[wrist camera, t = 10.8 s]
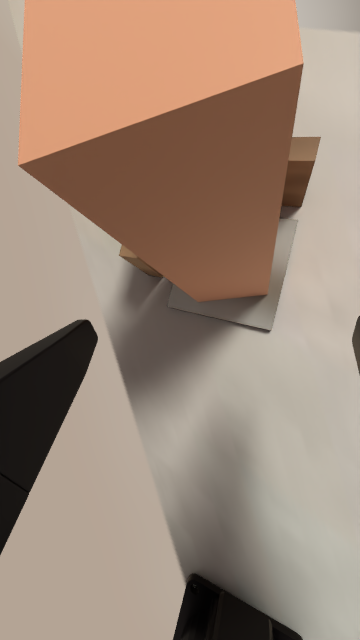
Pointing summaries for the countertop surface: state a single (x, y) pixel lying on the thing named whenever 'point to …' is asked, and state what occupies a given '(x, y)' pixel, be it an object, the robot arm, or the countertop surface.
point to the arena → (264, 307)
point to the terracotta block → (167, 128)
